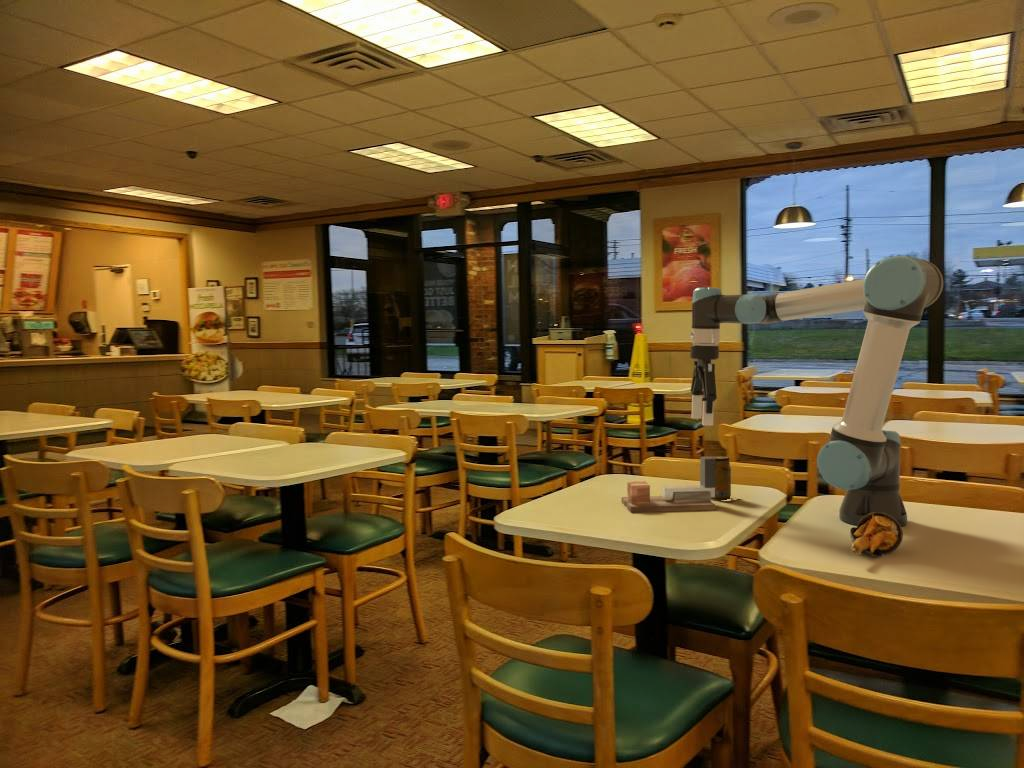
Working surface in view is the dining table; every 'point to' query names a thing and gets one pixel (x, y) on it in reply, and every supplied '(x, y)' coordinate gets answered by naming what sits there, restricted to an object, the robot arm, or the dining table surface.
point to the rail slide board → (664, 500)
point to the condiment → (722, 479)
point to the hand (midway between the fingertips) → (701, 421)
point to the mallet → (705, 480)
